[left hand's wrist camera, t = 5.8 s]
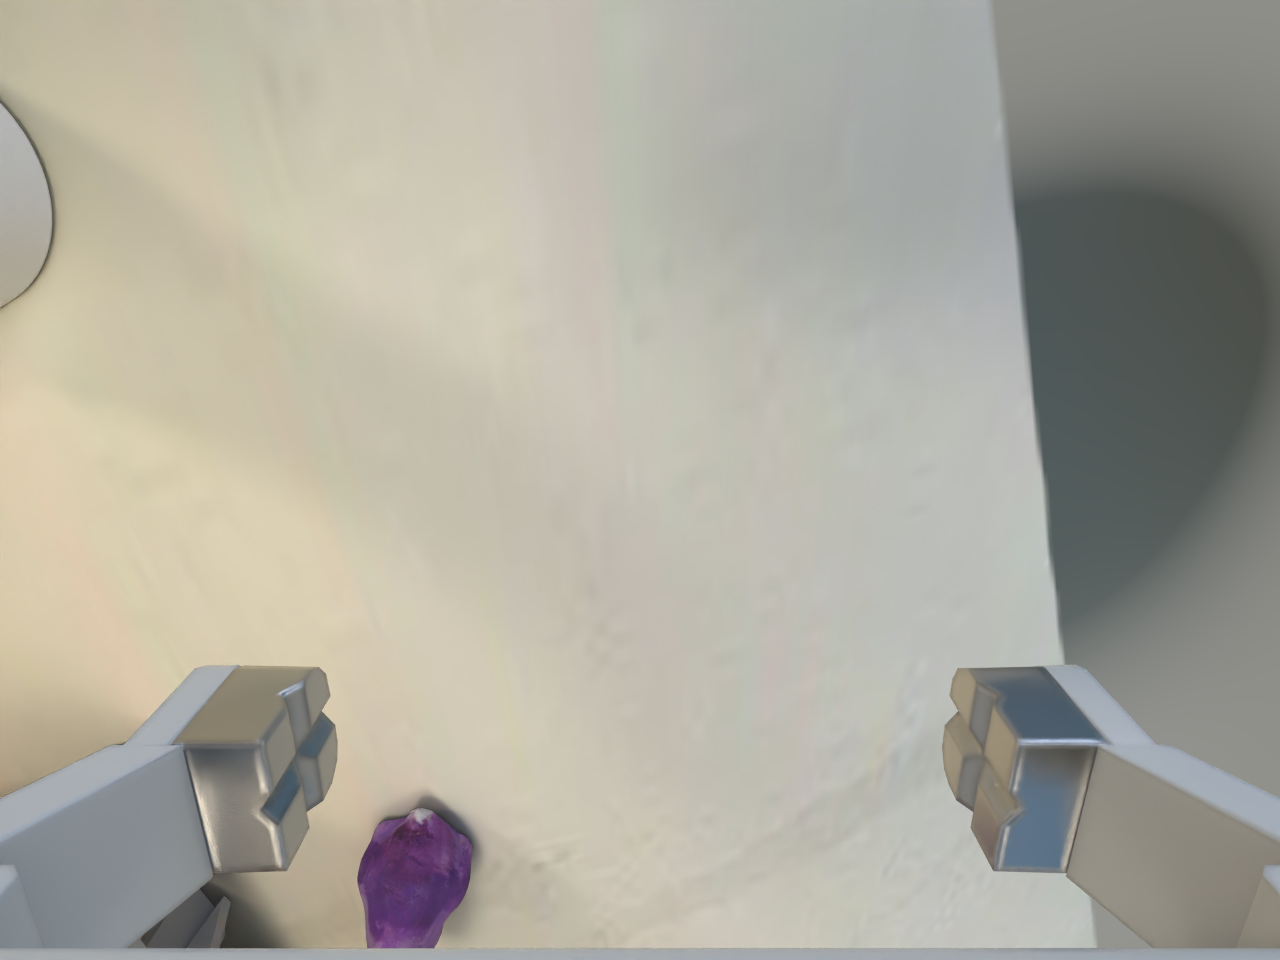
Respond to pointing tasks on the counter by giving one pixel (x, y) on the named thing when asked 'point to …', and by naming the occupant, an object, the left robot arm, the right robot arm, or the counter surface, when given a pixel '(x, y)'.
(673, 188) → the counter surface
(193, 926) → the grey record crate
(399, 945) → the figurine
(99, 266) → the counter surface
